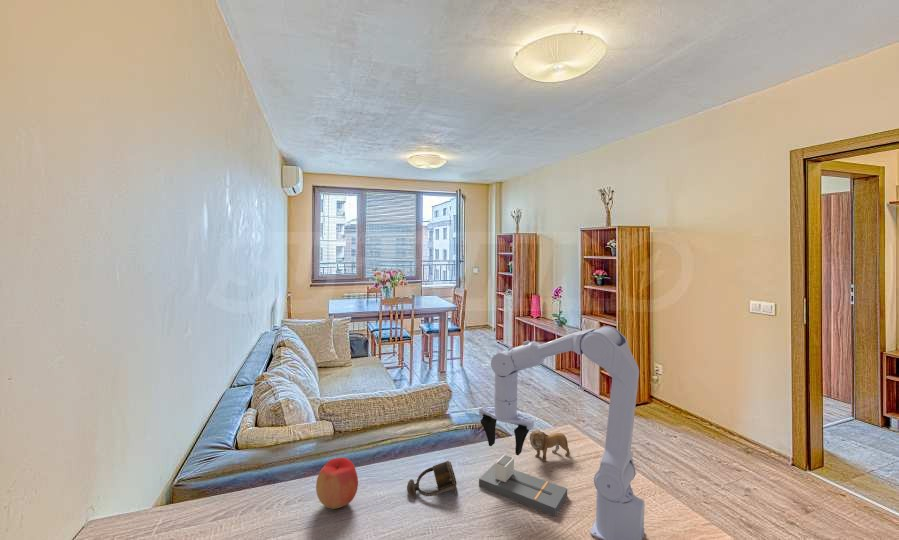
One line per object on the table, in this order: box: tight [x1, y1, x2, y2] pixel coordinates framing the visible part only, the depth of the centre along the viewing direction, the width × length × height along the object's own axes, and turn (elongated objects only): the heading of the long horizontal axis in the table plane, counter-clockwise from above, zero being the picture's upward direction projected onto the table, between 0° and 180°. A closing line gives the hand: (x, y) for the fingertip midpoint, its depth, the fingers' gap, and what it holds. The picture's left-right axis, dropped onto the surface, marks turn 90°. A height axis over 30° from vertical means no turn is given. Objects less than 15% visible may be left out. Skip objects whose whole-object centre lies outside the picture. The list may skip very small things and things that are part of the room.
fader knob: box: [494, 454, 515, 482], centre depth 100 cm, size 3×5×4 cm, turn 146°
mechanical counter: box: [406, 460, 459, 499], centre depth 97 cm, size 7×13×10 cm
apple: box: [315, 457, 359, 510], centre depth 91 cm, size 10×10×10 cm
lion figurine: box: [529, 429, 570, 463], centre depth 113 cm, size 15×5×9 cm, turn 118°
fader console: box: [478, 463, 568, 518], centre depth 97 cm, size 20×9×2 cm, turn 56°
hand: (504, 448), depth 99 cm, fingers open, 7 cm apart
